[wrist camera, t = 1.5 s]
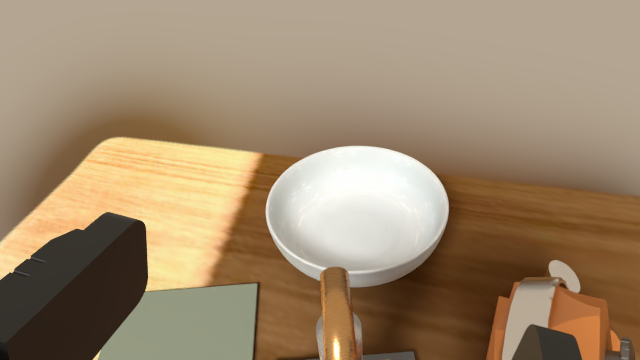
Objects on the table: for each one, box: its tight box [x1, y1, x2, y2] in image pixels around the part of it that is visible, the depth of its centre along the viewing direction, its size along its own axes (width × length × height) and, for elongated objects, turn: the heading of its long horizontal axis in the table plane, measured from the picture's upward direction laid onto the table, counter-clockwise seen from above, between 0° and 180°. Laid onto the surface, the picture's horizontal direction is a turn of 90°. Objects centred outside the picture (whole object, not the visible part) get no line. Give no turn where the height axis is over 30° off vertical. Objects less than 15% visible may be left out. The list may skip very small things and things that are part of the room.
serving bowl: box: [266, 146, 449, 287], centre depth 59 cm, size 21×21×7 cm
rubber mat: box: [98, 283, 258, 360], centre depth 51 cm, size 16×16×1 cm
